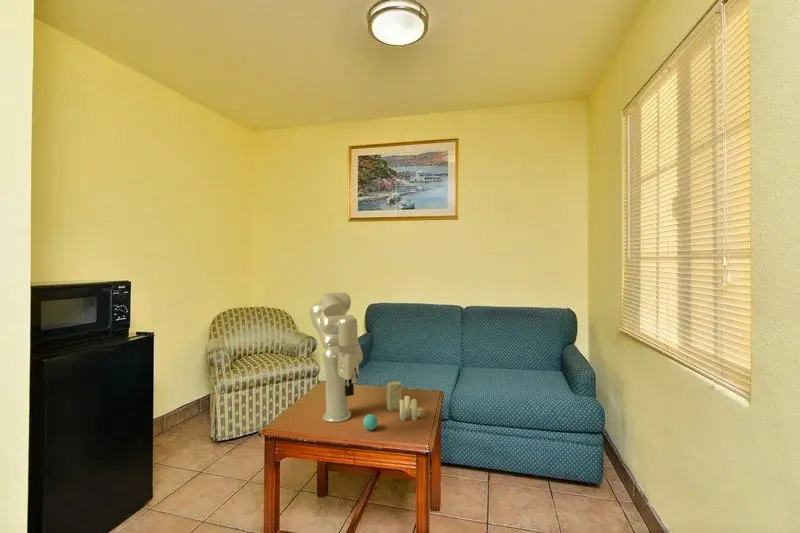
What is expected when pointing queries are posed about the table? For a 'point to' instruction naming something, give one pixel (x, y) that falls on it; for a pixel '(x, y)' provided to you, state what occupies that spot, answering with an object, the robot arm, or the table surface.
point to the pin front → (402, 410)
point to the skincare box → (394, 395)
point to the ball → (370, 422)
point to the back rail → (419, 411)
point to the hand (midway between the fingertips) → (349, 395)
